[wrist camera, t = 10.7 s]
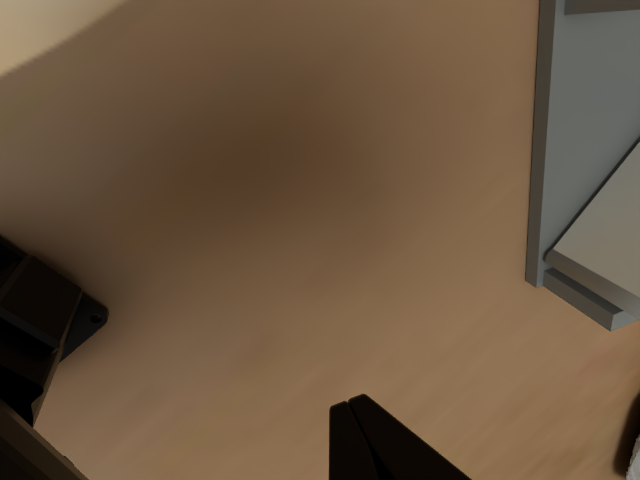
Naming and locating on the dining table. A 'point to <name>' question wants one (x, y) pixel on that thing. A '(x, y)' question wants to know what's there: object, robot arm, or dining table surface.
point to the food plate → (634, 463)
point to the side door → (607, 241)
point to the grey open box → (580, 129)
